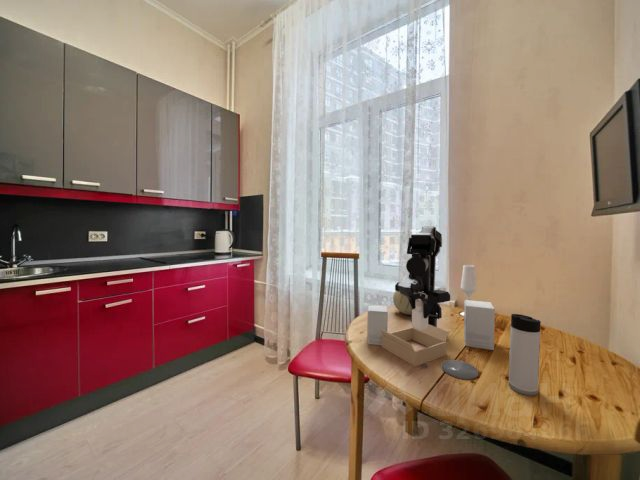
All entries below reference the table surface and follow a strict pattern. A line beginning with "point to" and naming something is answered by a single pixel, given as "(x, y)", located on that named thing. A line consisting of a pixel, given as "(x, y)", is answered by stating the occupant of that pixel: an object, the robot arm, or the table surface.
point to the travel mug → (524, 354)
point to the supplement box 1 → (376, 324)
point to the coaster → (459, 369)
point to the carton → (427, 337)
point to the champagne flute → (468, 281)
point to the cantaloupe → (402, 303)
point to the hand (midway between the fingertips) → (420, 316)
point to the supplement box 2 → (479, 324)
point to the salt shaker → (419, 316)
